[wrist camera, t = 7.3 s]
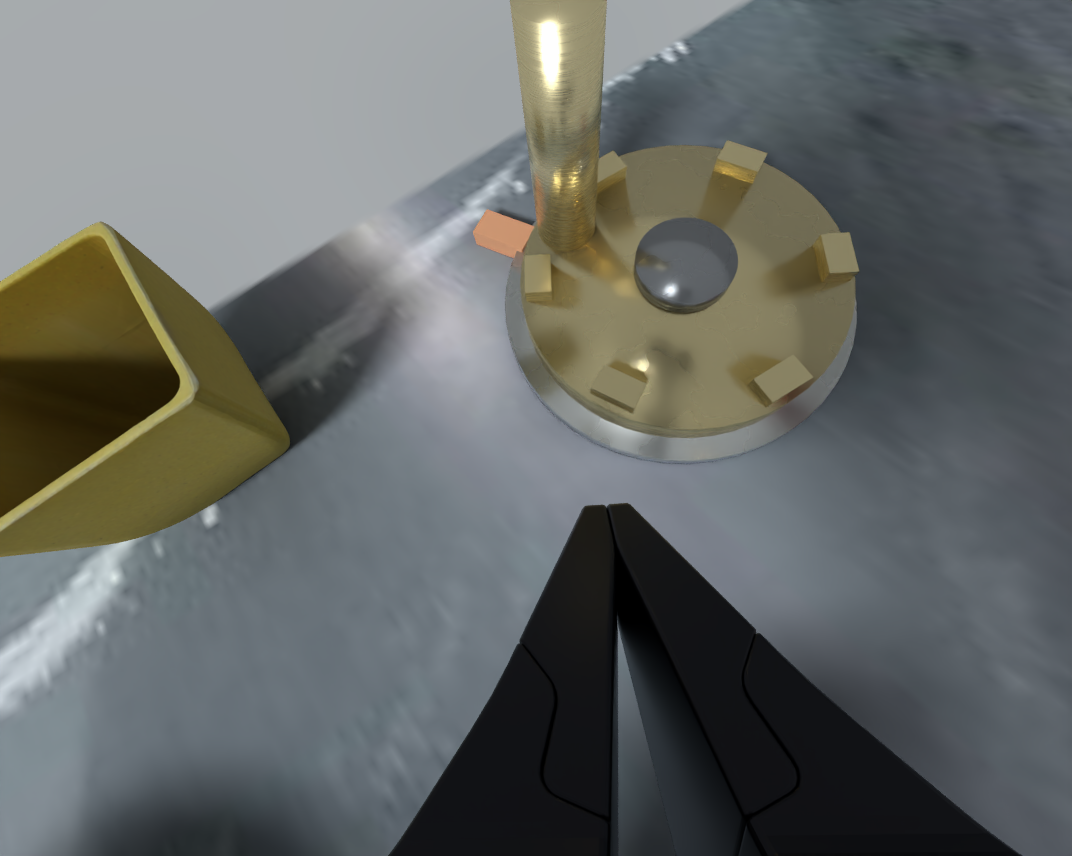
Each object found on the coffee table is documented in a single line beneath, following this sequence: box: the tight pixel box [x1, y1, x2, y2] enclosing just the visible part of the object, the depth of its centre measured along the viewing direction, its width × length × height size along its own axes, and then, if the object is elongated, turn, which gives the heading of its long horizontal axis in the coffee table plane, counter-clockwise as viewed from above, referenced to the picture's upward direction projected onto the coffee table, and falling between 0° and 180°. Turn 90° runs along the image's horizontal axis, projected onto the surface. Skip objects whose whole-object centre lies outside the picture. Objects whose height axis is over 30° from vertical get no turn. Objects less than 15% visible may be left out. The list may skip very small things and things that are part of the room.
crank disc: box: [510, 0, 859, 438], centre depth 17 cm, size 15×15×11 cm
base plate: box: [505, 217, 857, 464], centre depth 21 cm, size 17×17×4 cm
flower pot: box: [0, 222, 290, 557], centre depth 19 cm, size 9×9×9 cm
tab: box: [473, 210, 534, 258], centre depth 24 cm, size 3×2×1 cm, turn 63°
